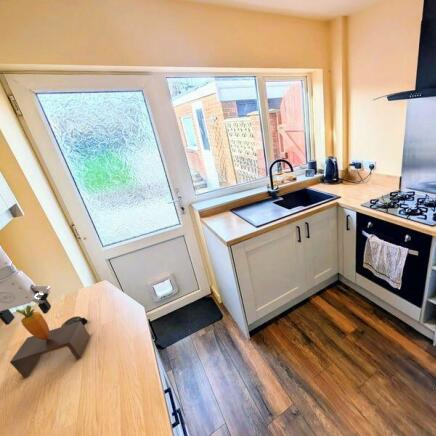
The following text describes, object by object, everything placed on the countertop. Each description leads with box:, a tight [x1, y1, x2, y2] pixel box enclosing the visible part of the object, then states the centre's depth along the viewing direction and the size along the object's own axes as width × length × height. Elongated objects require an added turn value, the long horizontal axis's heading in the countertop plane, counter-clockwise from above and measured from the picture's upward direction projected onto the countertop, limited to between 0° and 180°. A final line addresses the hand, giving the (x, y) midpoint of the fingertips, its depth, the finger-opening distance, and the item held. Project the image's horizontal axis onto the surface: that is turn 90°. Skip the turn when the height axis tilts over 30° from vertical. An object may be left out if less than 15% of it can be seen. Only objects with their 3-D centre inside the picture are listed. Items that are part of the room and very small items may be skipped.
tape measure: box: [60, 316, 88, 327], centre depth 98 cm, size 7×7×4 cm
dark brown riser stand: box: [9, 321, 91, 379], centre depth 86 cm, size 16×10×8 cm, turn 111°
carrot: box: [15, 304, 50, 340], centre depth 81 cm, size 5×5×15 cm
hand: (29, 315), depth 79 cm, fingers open, 9 cm apart
